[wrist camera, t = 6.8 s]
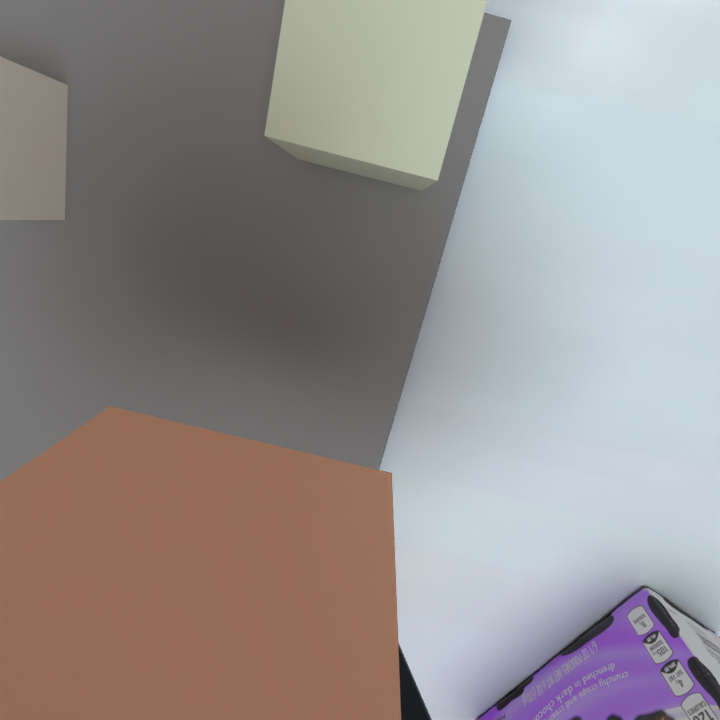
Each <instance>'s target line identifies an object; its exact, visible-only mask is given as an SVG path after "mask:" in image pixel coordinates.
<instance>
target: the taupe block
mask: <svg viewBox="0 0 720 720" xmlns="http://www.w3.org/2000/svg"><path fill="white" fill-rule="evenodd" d="M67 104H68V85H66V84H64V83H62V82H59V81H57V80H55V79H52V78H50V77H48V76H45V75H43V74H41V73H38V72H36V71H34V70H31V69H29V68H26V67H24V66H22V65H19V64H17V63H15V62H12V61H10V60H8V59H5V58H3V57H1V56H0V220H65V194H66V149H67Z"/></svg>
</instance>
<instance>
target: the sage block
mask: <svg viewBox="0 0 720 720" xmlns="http://www.w3.org/2000/svg"><path fill="white" fill-rule="evenodd" d="M487 1H488V0H285V5H284V11H283V18H282V24H281V31H280V37H279V44H278V50H277V57H276V63H275V70H274V76H273V83H272V89H271V96H270V102H269V109H268V115H267V122H266V128H265V135H264V136H265V137H267V138H268V139H270V140H271V141H273V142H274V143H275V144H277V145H278V146H280V147H281V148H282V149H284V150H285V151H287V152H288V153H289V154H291V155H292V156H294V157H295V158H297V159H299V160H303V161H307V162H310V163H314V164H318V165H322V166H326V167H330V168H334V169H338V170H341V171H345V172H349V173H353V174H357V175H361V176H365V177H369V178H373V179H376V180H380V181H384V182H388V183H392V184H396V185H400V186H404V187H407V188H411V189H415V190H419V191H423V190H425V189H426V188H428V187H429V186H431V185H432V184H433V183H435V182H436V181H438V178H439V174H440V171H441V167H442V164H443V160H444V156H445V153H446V149H447V145H448V142H449V138H450V135H451V131H452V127H453V124H454V120H455V117H456V113H457V109H458V106H459V102H460V99H461V95H462V91H463V88H464V84H465V80H466V77H467V73H468V70H469V66H470V62H471V59H472V55H473V52H474V48H475V44H476V41H477V37H478V33H479V30H480V26H481V23H482V19H483V15H484V12H485V8H486V5H487Z"/></svg>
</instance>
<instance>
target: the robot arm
mask: <svg viewBox="0 0 720 720" xmlns="http://www.w3.org/2000/svg"><path fill="white" fill-rule="evenodd" d="M398 650H399V676H400V702H401V720H431V717H430V715H429V713H428V710H427V708H426V706H425V703H424V701H423V699H422V697H421V694H420V692H419V690H418V687H417V685H416V683H415V680H414V678H413V676H412V673H411V671H410V669H409V666H408V664H407V662H406V660H405V657H404V655H403V653H402V650H401V648H400V646H399V643H398Z"/></svg>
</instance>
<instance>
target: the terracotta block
mask: <svg viewBox="0 0 720 720" xmlns="http://www.w3.org/2000/svg"><path fill="white" fill-rule="evenodd" d="M0 720H401V702H400V676H399V650H398V624H397V598H396V572H395V546H394V520H393V494H392V473H389V472H385V471H380V470H376V469H372V468H368V467H364V466H359V465H355V464H351V463H347V462H343V461H338V460H334V459H330V458H326V457H322V456H317V455H313V454H309V453H305V452H301V451H296V450H292V449H288V448H284V447H280V446H275V445H271V444H267V443H263V442H258V441H254V440H250V439H246V438H242V437H237V436H233V435H229V434H225V433H221V432H216V431H212V430H208V429H204V428H200V427H195V426H191V425H187V424H183V423H179V422H174V421H170V420H166V419H162V418H158V417H153V416H149V415H145V414H141V413H137V412H132V411H128V410H124V409H120V408H116V407H111V406H110V407H108V408H107V409H105V410H104V411H102V412H101V413H99V414H98V415H97V416H95V417H94V418H92V419H91V420H89V421H88V422H86V423H85V424H84V425H82V426H81V427H79V428H78V429H76V430H75V431H73V432H72V433H70V434H69V435H68V436H66V437H65V438H63V439H62V440H60V441H59V442H57V443H56V444H55V445H53V446H52V447H50V448H49V449H47V450H46V451H44V452H43V453H41V454H40V455H39V456H37V457H36V458H34V459H33V460H31V461H30V462H28V463H27V464H25V465H24V466H23V467H21V468H20V469H18V470H17V471H15V472H14V473H12V474H11V475H10V476H8V477H7V478H5V479H4V480H2V481H1V482H0Z"/></svg>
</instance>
